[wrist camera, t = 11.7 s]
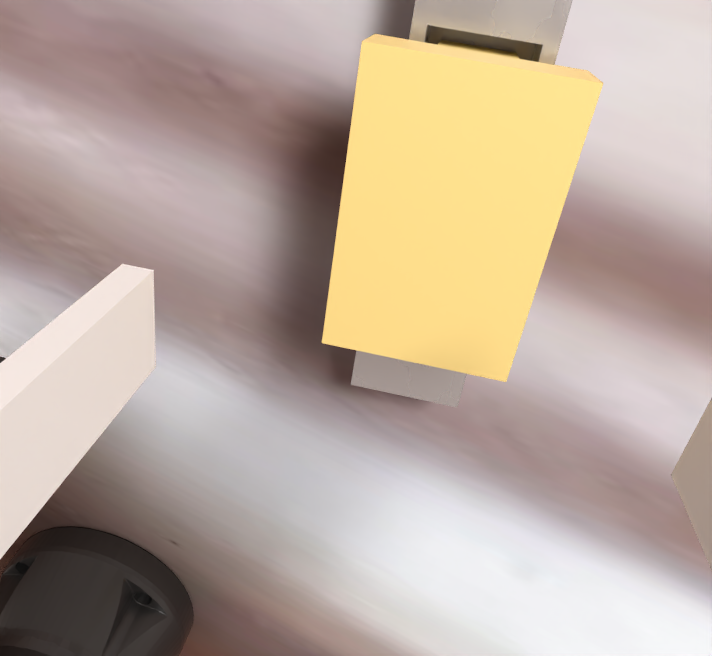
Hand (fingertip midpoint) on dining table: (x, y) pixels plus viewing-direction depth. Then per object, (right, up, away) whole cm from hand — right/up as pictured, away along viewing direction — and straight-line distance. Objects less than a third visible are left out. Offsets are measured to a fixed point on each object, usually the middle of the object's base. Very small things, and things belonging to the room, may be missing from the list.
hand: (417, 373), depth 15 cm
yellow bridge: (+3, +8, +14) cm, 17 cm away
